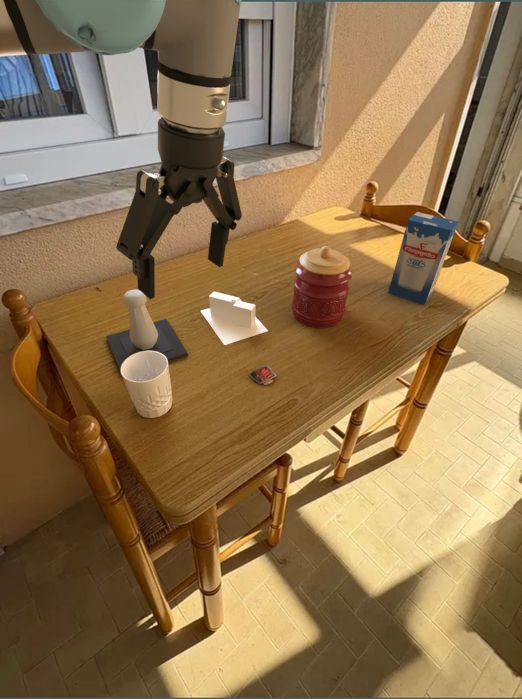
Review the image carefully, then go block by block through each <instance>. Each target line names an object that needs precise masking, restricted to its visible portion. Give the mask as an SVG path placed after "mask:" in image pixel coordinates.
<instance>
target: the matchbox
mask: <svg viewBox="0 0 522 699" xmlns="http://www.w3.org/2000/svg"><path fill="white" fill-rule="evenodd" d="M249 376H250V378H251V379H252V380H253V381H255V382H256V383H258V384H259V385H260V384H263V385H265V386H267V385H268V386H269V385H270V384H272V383H273V382H274V379H273V378H275V377H277V374H276V373H275V372H274V371H273V368H271V366H269V365H267V364H266V365H265V364H264V365H263V366H261V367H259V368H257V369H254V370H253V371H252V372H251V373H250V374H249Z"/></svg>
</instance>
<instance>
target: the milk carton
mask: <svg viewBox="0 0 522 699" xmlns="http://www.w3.org/2000/svg"><path fill="white" fill-rule="evenodd" d="M458 225H459V221H458V220H453V219H449V218H445V217H441V216H437V215H433V214H428V213H425V212H420V211H416V212H415V213H414V214H412V215H411V216H410V217H409V218H408V219H407V222H406V226H405V230H404V234H403V237H402V241H401V244H400V248H399V252H398V256H397V258H396V263H395V266H394V270H393V274H392V276H391V280H390V284H389V288H388V292H387V293H388V294H390V295H394V296H397V297H400V298H403V299H405V300H408V301H411V302H414V303H417V304H420V305H423V306H425V305H426V304H427V302H428V301H429V300H430V298H431V297H432V295H433V293H434V291H435V288H436V286H437V283H438V279H439V276H440V274H441V271H442V268H443V266H444V262H445V261H446V257H447V254H448V252H449V249H450V246H451V244H452V241H453V239H454V235H455V232H456V231H457V228H458Z"/></svg>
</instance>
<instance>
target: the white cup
mask: <svg viewBox="0 0 522 699" xmlns="http://www.w3.org/2000/svg"><path fill="white" fill-rule="evenodd" d="M120 371H121V373H120V375H121V377H122V380H123V382H124V385H125V387H126V390H127V392H128V395H129V397H130V399H131V402H132V403H133V405H134V407H135V409H136V410H135V411H136V412H137V414H139V415H140V416H141V417H142V418H148V419H155V418H159V417H161V416H164V415H166V414H167V413H168V412H169V410H170V409H171V408H172V405H173V393H172V392H173V391H172V390H173V389H172V380H171V374H170V366H169V362H168V360H167V358H166V357H165V356H164V355H163V354H161V353H159V352H156V351H142V352H138V353H135V354H133V355H131V356H130V357H128V358H127V359H126V360H125V361H124V362H123V364H122V365H121V370H119V372H120Z"/></svg>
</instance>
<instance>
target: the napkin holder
mask: <svg viewBox="0 0 522 699" xmlns="http://www.w3.org/2000/svg"><path fill="white" fill-rule="evenodd" d="M208 300H209V307H208V308H205V309H201V310H200V313H201V314H202V316H203V317H204V319H205V320H206V321H207V323H208V324H209V326H210V327H211V329H213V332H214V333H215V334H216V335H217V337H218V338H219V340H220V342H222V345H223V346H227V345H231V344H233V343H236V342H239V341H242V340H245V339H248V338H252V337H254V336H258V335H260V334H264V333H267V332H269V330H268V329H267V328H266V327H265V325H264V324H263V323H262V322H261V320H260V319H259V318H257V317H256V309H257V308H256V306H257V305H256V304H254V303H250V302H246V301H243V300H242V299H240V297H239V296H234V295H230V294H225V293H222V292H218V291H212V292H211V294H209V295H208Z"/></svg>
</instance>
